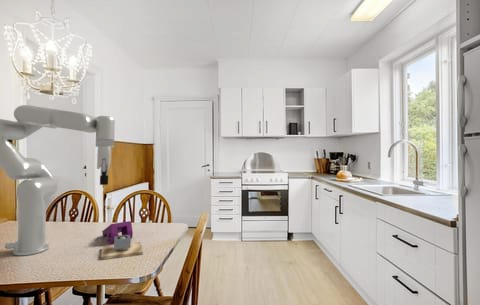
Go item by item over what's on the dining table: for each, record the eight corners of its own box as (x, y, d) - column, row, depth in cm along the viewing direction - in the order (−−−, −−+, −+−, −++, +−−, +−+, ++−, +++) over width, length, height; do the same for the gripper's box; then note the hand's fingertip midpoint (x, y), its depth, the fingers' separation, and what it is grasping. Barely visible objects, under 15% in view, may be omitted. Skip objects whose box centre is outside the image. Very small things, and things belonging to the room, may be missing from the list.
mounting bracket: (101, 249, 136) (113, 241, 125) (99, 233, 139) (111, 224, 127) (120, 245, 143) (133, 237, 131) (118, 229, 145) (130, 220, 134)
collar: (114, 249, 113) (114, 240, 113) (114, 245, 119) (114, 236, 119) (130, 247, 116) (130, 238, 116) (129, 243, 121) (129, 234, 121)
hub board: (100, 259, 107) (101, 244, 108) (102, 248, 120) (102, 235, 120) (142, 254, 114) (143, 240, 114) (140, 244, 127) (140, 231, 127)
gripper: (96, 144, 125) (95, 183, 125) (94, 142, 112) (93, 186, 111) (114, 144, 128) (113, 182, 128) (114, 143, 115) (113, 186, 114)
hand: (104, 184), depth 120 cm, fingers closed
